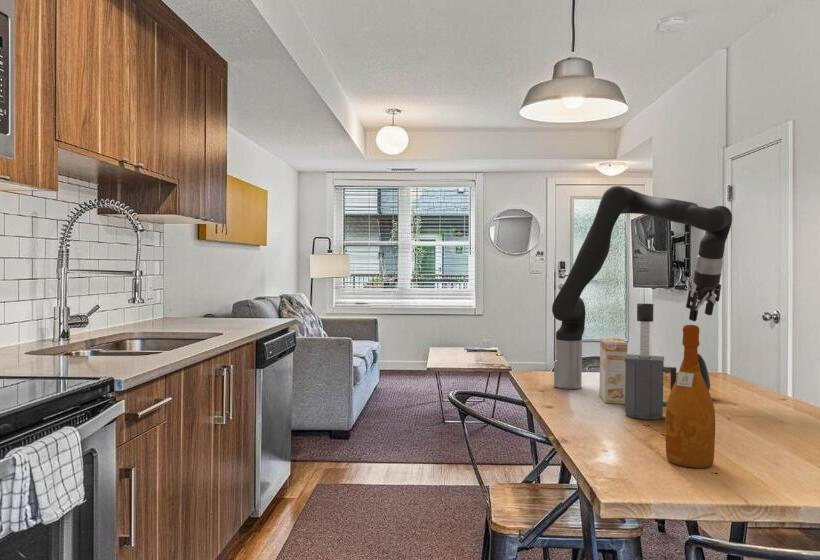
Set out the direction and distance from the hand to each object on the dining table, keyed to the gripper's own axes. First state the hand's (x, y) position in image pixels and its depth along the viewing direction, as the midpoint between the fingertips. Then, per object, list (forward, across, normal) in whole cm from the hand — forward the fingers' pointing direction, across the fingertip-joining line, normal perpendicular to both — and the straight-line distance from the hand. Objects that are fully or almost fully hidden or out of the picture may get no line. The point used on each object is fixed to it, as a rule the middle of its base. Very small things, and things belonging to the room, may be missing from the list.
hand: (700, 317), depth 195 cm
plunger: (+10, +36, +7) cm, 38 cm away
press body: (+19, +37, +11) cm, 43 cm away
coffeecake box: (+26, +26, -10) cm, 39 cm away
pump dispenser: (+28, +1, +3) cm, 28 cm away
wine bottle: (+5, +66, +40) cm, 77 cm away
